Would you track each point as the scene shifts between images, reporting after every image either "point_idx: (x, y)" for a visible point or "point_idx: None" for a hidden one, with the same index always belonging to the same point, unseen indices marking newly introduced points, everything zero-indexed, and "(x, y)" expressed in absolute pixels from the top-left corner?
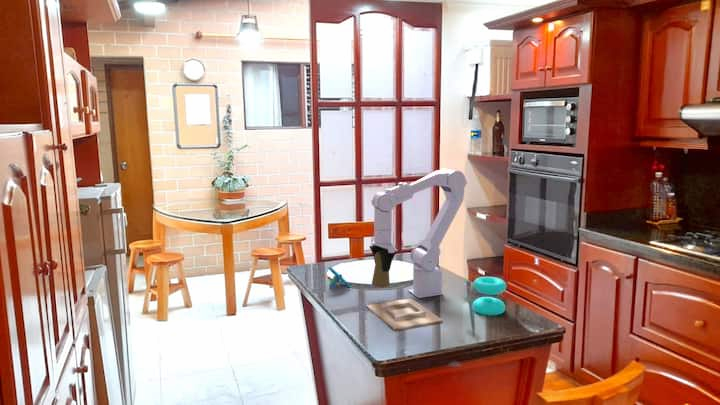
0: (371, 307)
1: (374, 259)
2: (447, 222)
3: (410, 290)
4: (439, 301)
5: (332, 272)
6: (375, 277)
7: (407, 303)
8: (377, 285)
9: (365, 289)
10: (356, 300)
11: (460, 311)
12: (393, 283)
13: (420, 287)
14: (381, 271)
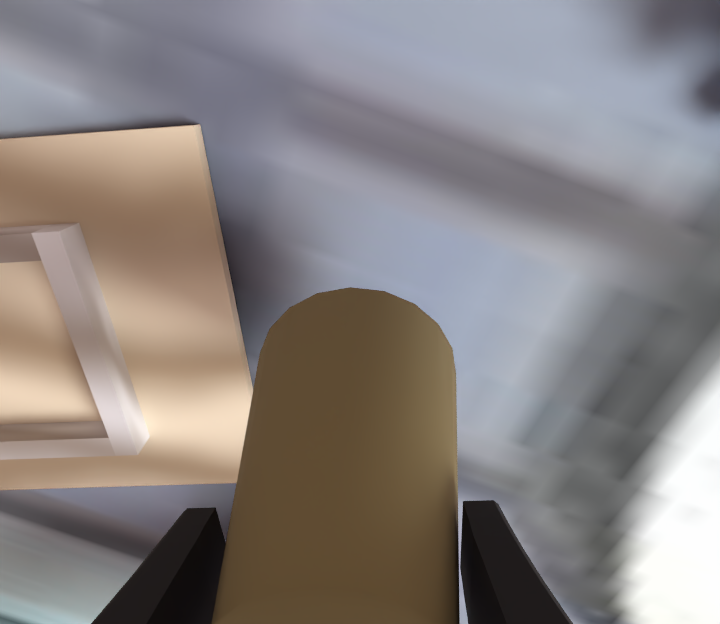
0: (128, 149)
1: (545, 612)
2: None
3: None
4: None
5: None
6: (302, 361)
7: (109, 425)
8: (276, 324)
9: (630, 267)
10: (395, 83)
11: (47, 600)
12: (628, 493)
13: None
14: (237, 488)
